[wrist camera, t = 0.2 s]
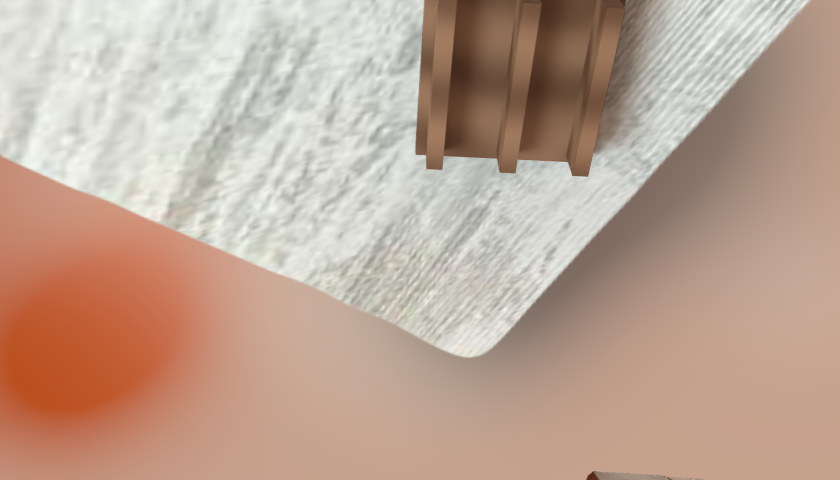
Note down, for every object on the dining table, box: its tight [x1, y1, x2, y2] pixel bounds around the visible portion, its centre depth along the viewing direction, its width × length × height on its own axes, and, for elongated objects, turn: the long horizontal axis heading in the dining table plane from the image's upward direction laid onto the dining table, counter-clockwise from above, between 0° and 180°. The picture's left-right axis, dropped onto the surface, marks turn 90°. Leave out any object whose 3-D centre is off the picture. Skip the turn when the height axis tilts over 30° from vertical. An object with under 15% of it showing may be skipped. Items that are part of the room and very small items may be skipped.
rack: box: [416, 0, 626, 177], centre depth 55 cm, size 14×14×4 cm
